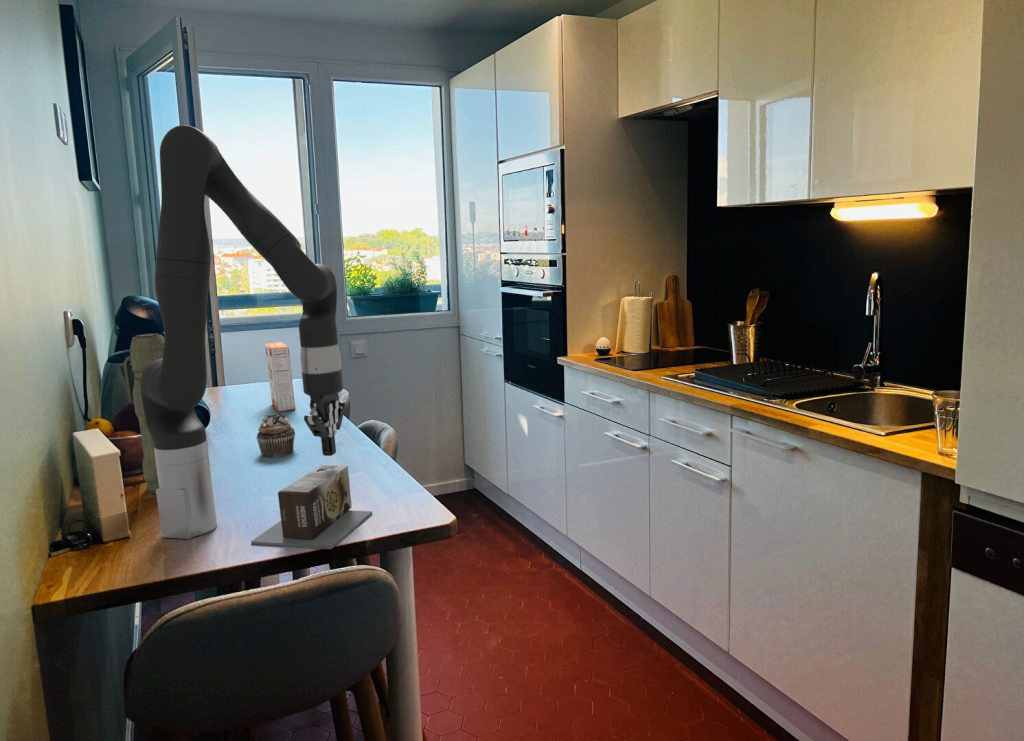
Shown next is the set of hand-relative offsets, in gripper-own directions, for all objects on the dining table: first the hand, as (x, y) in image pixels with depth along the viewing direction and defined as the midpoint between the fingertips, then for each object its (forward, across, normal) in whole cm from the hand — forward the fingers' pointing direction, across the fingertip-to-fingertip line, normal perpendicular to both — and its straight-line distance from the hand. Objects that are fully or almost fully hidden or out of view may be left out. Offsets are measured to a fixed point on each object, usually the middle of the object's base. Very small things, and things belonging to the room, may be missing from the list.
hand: (329, 454), depth 149 cm
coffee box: (+7, +1, 0) cm, 7 cm away
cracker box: (+12, +87, +64) cm, 108 cm away
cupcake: (+12, +38, +36) cm, 53 cm away
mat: (+12, -8, 0) cm, 15 cm away
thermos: (+12, +10, +47) cm, 49 cm away
